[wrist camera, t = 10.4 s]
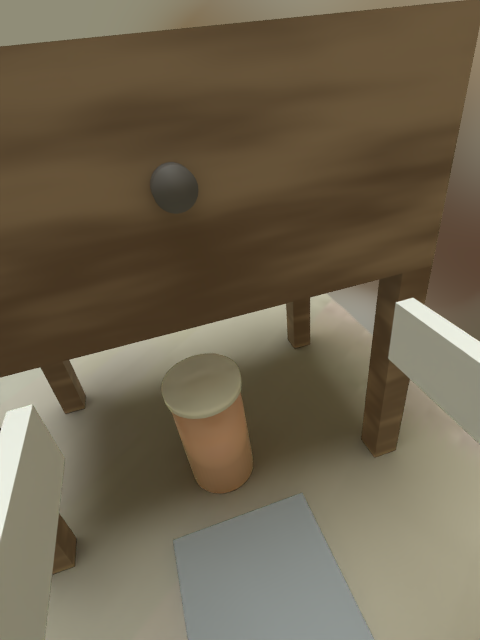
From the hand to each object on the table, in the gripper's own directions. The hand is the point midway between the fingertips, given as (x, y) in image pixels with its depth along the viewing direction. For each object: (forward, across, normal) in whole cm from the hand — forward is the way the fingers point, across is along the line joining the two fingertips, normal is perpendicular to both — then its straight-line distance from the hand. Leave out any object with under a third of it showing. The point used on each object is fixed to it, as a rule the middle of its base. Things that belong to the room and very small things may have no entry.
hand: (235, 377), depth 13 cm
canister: (+10, 0, -18) cm, 21 cm away
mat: (0, 0, -18) cm, 18 cm away
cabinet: (+15, 0, -18) cm, 24 cm away
